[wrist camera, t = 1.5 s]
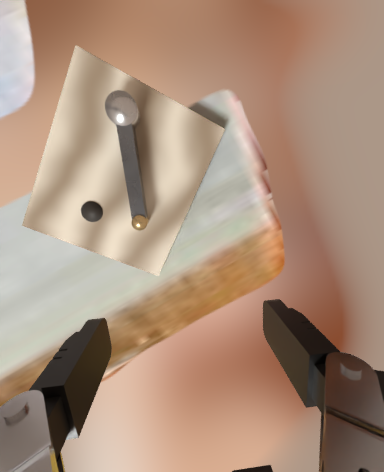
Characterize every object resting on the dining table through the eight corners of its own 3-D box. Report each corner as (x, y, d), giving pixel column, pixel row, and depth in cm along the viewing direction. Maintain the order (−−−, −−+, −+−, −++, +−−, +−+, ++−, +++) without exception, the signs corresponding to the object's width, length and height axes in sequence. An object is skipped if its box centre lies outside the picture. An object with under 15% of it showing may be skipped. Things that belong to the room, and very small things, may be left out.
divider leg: (108, 100, 23) (101, 91, 20) (137, 98, 23) (134, 89, 20) (130, 227, 26) (126, 232, 24) (155, 225, 27) (154, 228, 24)
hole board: (30, 223, 27) (21, 225, 25) (81, 53, 23) (75, 44, 21) (158, 271, 30) (158, 276, 29) (222, 132, 26) (225, 128, 25)
